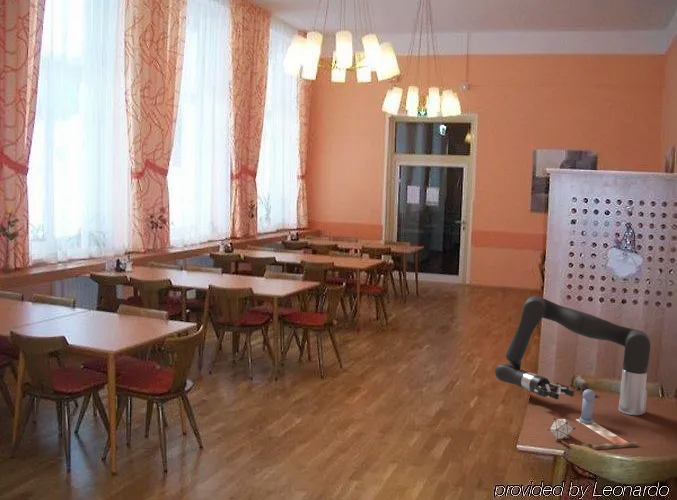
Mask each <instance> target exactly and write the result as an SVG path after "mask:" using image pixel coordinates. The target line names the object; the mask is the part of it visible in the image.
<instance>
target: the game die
mask: <svg viewBox="0 0 677 500" xmlns="http://www.w3.org/2000/svg"><path fill="white" fill-rule="evenodd" d="M553 420H554V421H553V423H552V424H551V426H550V428H549V429H547V431H550V432H551V434H552V435H553V436H554V437H555V438H556V442H558V441H559V440H563V439H565V440H566V439H569V438H570V437H571V434H572V432H573V431H574V430H576V427H573V426H572V425H571V423H570V422H569V421H568V420H567V416H565V417H564V418H557V419H556V418H555V417H553Z"/></svg>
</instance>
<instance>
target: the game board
mask: <svg viewBox="0 0 677 500" xmlns="http://www.w3.org/2000/svg"><path fill="white" fill-rule="evenodd" d="M579 420H580V418H578V419H577V418H576V419H575V421H577V422H578V423H580V424H582V425H584V426H585V427H587V428H589V429H590V430H591V431H593V432H595V433H596V434H599V436H601V437H604V439H607V440H608V441H610V442H605V443H603V442H602V443H592V444H590V443H589V444H587V446H588V447H589V448H591V449H593V448H594V449H593V450H601V449H617V448H628V447H629V448H631V447H638V446H639V443H638V442H636V441H635V440H632V441H631V440H630V441H627V440H625V439H623V438H621V437H620V436H618V435H617V434H615V433H613V432H611V431H610V430H608V429H607V428H605V427H603V426H601V425H600V424H598V423H596V422H594V421H593V424H584V423H581V422H580V421H579Z"/></svg>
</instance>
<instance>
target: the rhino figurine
mask: <svg viewBox="0 0 677 500" xmlns="http://www.w3.org/2000/svg"><path fill="white" fill-rule="evenodd" d="M572 379H573V380H572V381H573V386H575V389H574V390H575V391H579V389H580V392H579V395H582V394H583V392H584V391H585V390H586V389H589V388H590V384H589V382H588V381H586V380H585V379H583V378H582V377H581V376H577V377H576V376H575V375H573V378H572Z"/></svg>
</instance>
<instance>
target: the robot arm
mask: <svg viewBox="0 0 677 500" xmlns="http://www.w3.org/2000/svg"><path fill="white" fill-rule="evenodd" d="M541 319H546V320H550V321H552V322H555V323H557V324H559V325H561V326H562V327H564V328H565V329H567V330H569V331H571V332H573V333H574V334H578V335H580V336H583V337H586V338H589V339H593V340H601V341H602V340H603V341H607V342H612V343H615V344H617V345H620V346H622V347H624V355H623V363H622V372H621V382H620V392H619V402H618V410H619V412H621V413H623V414H626V415H631V416H641V415H643V414H645V413H646V405H647V396H648V391H647V389H646V386H647V377H648V376H647V375H648V368H649V363H650V351H651V341H650V337H649V335H647V333H646V332H644V331H642V330H639V329H634V328H629V327H626V326H623V325H622V326H621V325H619V324H615V323H612V322H611V321H608V320H605V319H602V317H601V318H600V317H598V316H595V315H592V314H590V313H587V312H583V311H579V310H577V309H573V308H570V307H567V306H563V305H559V304H557V303H555V302H553V301H550V300H548V299H546V298H544V297H541V296H538V295H532V296H530V297H528V298H527V300H526V301H525V302H524V303H523V307H522V314H521V318H520V321H519V324H518V327H517V330H516V331H515V334H514V335H513V337H512V340H511V341H510V343H509V345H508V348H507V350H506V353H505V359H507V360H508V361H509V363H506V364H503V363H501V364H498V365H497V366H495V368H494V375H495V377H496V378H497V379H498V380H499V381H501V382H503V383H508V384H512V385H516V386H517V387H520V388H522V389H525V390H526V391H527V392H528V391H529V392H531V393H534V394H536V395H538V396H541V397H542V398H546V397H547V398H552V399H554V400H559V399H560V398H559V397H560V395H561V394H563V395H567V396H569V397H574V395H575V392H574V390H571V389H570V386H568V385H565V384H561V383H559V382H556V383H555V384H554V383H551V382H550V380H549V379H548V378H547V377H544V376H543V375H542V376H541V375H539V374H537V373H534V372H529V371H527V370H523V369H521V367H522V360H523V358H524V356H525V353H526V351H527V348H528V346H529V343H530V341H531V338H532V335H533V332H534V330H535V329H536V327H537V325H538V324H539V322H540V320H541Z"/></svg>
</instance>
